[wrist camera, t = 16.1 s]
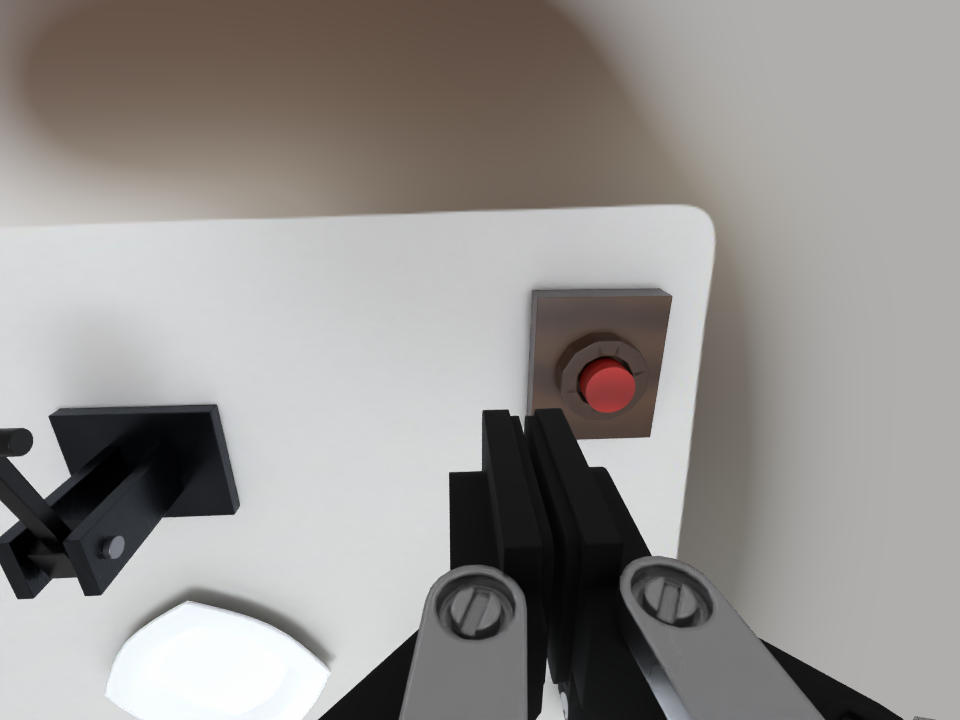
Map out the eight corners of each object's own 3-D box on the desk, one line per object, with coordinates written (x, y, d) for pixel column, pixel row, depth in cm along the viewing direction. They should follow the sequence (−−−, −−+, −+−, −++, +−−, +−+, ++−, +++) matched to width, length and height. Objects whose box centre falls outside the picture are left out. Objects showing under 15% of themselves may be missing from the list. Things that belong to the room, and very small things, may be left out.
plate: (359, 652, 50) (356, 670, 49) (256, 747, 55) (250, 767, 53) (188, 564, 45) (177, 582, 43) (90, 679, 49) (76, 698, 48)
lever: (-73, 418, 25) (-114, 454, 23) (29, 415, 26) (-4, 450, 24) (50, 545, 33) (27, 580, 31) (128, 542, 33) (109, 576, 31)
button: (581, 358, 35) (588, 367, 34) (629, 357, 36) (638, 366, 34) (577, 402, 37) (583, 413, 35) (624, 401, 37) (632, 412, 35)
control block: (532, 290, 37) (541, 304, 33) (660, 288, 38) (684, 302, 34) (525, 427, 42) (533, 453, 38) (640, 424, 42) (659, 449, 38)
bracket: (59, 408, 38) (-96, 508, 27) (217, 404, 39) (128, 500, 28) (97, 511, 42) (-26, 635, 31) (240, 505, 43) (169, 624, 32)
